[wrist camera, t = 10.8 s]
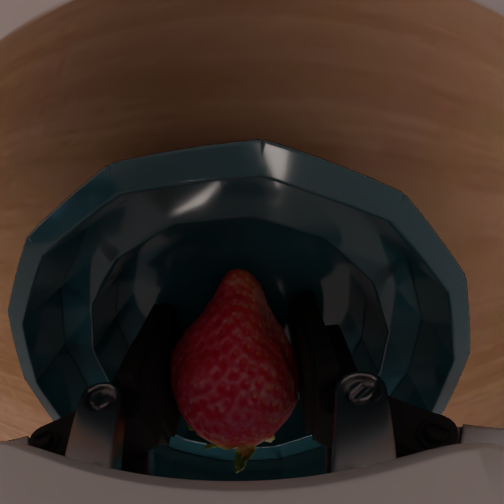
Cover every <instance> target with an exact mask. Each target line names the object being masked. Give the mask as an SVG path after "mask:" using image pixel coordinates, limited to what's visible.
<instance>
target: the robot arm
mask: <svg viewBox="0 0 504 504" xmlns="http://www.w3.org/2000/svg"><path fill="white" fill-rule="evenodd" d="M292 320H293V349H294V354H295V357H296V360H297V363H298V367H299V375H300V388H299V395H300V401H301V407H302V413H303V420H304V426H305V432H306V433H312V438H313V441H317V442H318V443H319V444H321V445H323V446H325V447H326V457H325V470H324V474H322V475H315V476H307V477H299V478H290V479H278V480H262V481H203V480H187V479H176V478H166V477H158V476H155V472H154V448H155V447H157V446H158V444H159V445H169V443H170V438H171V437H175V435H176V431H177V426H178V422H179V417H180V411H179V408H178V405H177V403H176V400H175V398H174V395H173V392H172V387H171V382H170V376H171V373H170V363H171V353H172V352H173V350H174V348H175V346H176V344H177V343H178V342H179V340H180V339H181V337H182V336H183V335H182V331H181V327H180V323H179V320H178V316H177V312H176V309H175V307H171V306H170V304H169V303H165V304H154V305H153V307H152V309H151V310H150V312H149V314H148V316H147V318H146V320H145V322H144V323H143V325H142V327H141V329H140V331H139V333H138V335H137V337H136V338H135V339H134V340H133V342H132V343H131V345H130V347H129V349H128V351H127V353H126V355H125V357H124V359H123V361H122V363H121V365H120V367H119V369H118V371H117V373H116V375H115V377H114V379H113V381H112V383H110V382H100V383H96V384H93V385H91V386H90V387H88V388H87V389H86V390H85V391H84V392H83V393H82V395H81V397H80V400H79V403H78V406H77V410H76V411H74V412H72V413H70V414H68V415H66V416H64V417H62V418H59V419H57V420H55V421H53V422H51V423H49V424H47V425H44V426H42V427H40V428H39V429H37V430H36V431H35V432H34V433H33V434H32V435H31V437H30V438H29V437H28V436H26V437H21V438H17V439H13V440H9V441H0V504H504V428H493V427H483V426H474V425H466V424H463V426H462V427H456V425H455V423H454V422H453V421H452V420H451V419H449V418H447V417H445V416H443V415H440V414H437V413H434V412H431V411H428V410H425V409H422V408H420V407H417V406H414V405H411V404H409V403H406V402H403V401H401V400H398V399H396V398H393V397H390V396H388V393H387V387H386V385H385V382H384V381H383V380H382V379H381V378H380V377H379V376H377V375H375V374H373V373H370V372H366V371H358V369H357V367H356V365H355V362H354V360H353V357H352V355H351V352H350V350H349V347H348V345H347V343H346V340H345V338H344V335H343V333H342V331H341V328H340V326H339V325H338V324H335V325H327V326H325V324H324V321H323V318H322V315H321V313H320V310H319V307H318V304H317V302H316V299H315V296H314V294H313V292H305V293H297V297H295V298H292Z"/></svg>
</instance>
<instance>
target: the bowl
mask: <svg viewBox="0 0 504 504" xmlns="http://www.w3.org/2000/svg"><path fill="white" fill-rule="evenodd" d="M238 268H239V269H243V270H246V271H249V272H250V273H251V274H252V275H253V276H254V277H255V278H256V279H257V280H258V282H259V283H260V284H261V288H262V289H263V291H264V294H265V297H266V299H267V303H268V306H269V307H270V309H271V310H272V312H273V314H274V316H275V318H276V319H277V321H278V323H279V324H280V325H281V326H282V328H283V330H284V332H285V334H286V336H287V337H288V340H289V342H290V344H291V345H292V346H293V320H292V298H295V297H297V293H305V292H313V294H314V296H315V299H316V302H317V304H318V307H319V310H320V313H321V315H322V318H323V321H324V324H325V326H327V325H335V324H338V325H339V326H340V328H341V331H342V333H343V335H344V338H345V340H346V343H347V345H348V347H349V350H350V352H351V355H352V357H353V360H354V362H355V365H356V367H357V369H358V371H366V372H370V373H373V374H375V375H377V376H379V377H380V378H381V379H382V380H383V381H384V382H385V385H386V387H387V393H388V396H390V397H393V398H396V399H398V400H401V401H403V402H406V403H409V404H411V405H414V406H417V407H420V408H422V409H425V410H428V411H431V412H434V413H437V414H440V415H441V414H442V412H443V411H444V410H445V408H446V406H447V404H448V402H449V400H450V398H451V396H452V394H453V391H454V389H455V387H456V385H457V383H458V381H459V378H460V376H461V374H462V371H463V369H464V366H465V364H466V361H467V359H468V356H469V354H470V318H469V302H468V290H467V281H466V277H465V274H464V272H463V270H462V269H461V267H460V266H459V264H458V263H457V261H456V260H455V259H454V257H453V256H452V254H451V253H450V251H449V250H448V248H447V247H446V246H445V244H444V243H443V241H442V240H441V239H440V237H439V236H438V235H437V233H436V232H435V231H434V229H433V228H432V227H431V225H430V224H429V223H428V221H427V220H426V219H425V218H424V216H423V215H422V214H421V212H420V211H419V210H418V209H417V208H416V206H415V205H414V204H413V203H412V201H411V200H410V199H409V198H408V197H407V195H405V194H403V192H402V191H400V190H397V189H395V188H393V187H391V186H389V185H386V184H384V183H382V182H379V181H377V180H375V179H372V178H370V177H368V176H365V175H363V174H360V173H358V172H355V171H353V170H350V169H348V168H345V167H343V166H340V165H338V164H335V163H332V162H330V161H327V160H324V159H322V158H319V157H316V156H313V155H311V154H308V153H305V152H302V151H299V150H296V149H293V148H290V147H287V146H284V145H281V144H278V143H275V142H271V141H268V140H263V141H262V140H259V139H256V140H246V141H236V142H227V143H219V144H211V145H204V146H197V147H190V148H184V149H178V150H172V151H166V152H161V153H155V154H150V155H145V156H140V157H135V158H130V159H125V160H121V161H116V162H113V163H111V164H110V165H106V166H105V167H104V168H102V169H101V170H100V171H99V172H97V173H96V174H95V175H94V176H92V177H91V178H90V179H89V180H88V181H86V182H85V183H84V184H83V185H81V186H80V187H79V188H78V189H77V190H76V191H74V192H73V193H72V194H71V195H70V196H69V197H68V198H66V199H65V200H64V201H63V202H62V203H61V204H60V205H59V206H58V207H56V208H55V209H54V210H53V211H52V212H51V213H50V214H49V215H48V216H47V217H46V218H45V219H44V220H43V221H42V222H41V223H40V224H39V225H38V226H37V227H36V228H35V229H34V230H33V231H32V232H31V233H30V234H29V236H27V238H26V241H25V244H24V247H23V250H22V254H21V257H20V261H19V264H18V268H17V272H16V276H15V280H14V284H13V288H12V292H11V297H10V302H9V307H8V316H9V321H10V326H11V331H12V335H13V340H14V344H15V348H16V352H17V356H18V360H19V363H20V367H21V370H22V373H23V376H24V378H25V380H26V381H27V383H28V385H29V386H30V388H31V389H32V391H33V392H34V394H35V395H36V397H37V398H38V400H39V401H40V403H41V404H42V406H43V407H44V408H45V410H46V411H47V413H48V414H49V415H50V417H51V418H52V419H53V421H55V420H57V419H59V418H62V417H64V416H66V415H68V414H70V413H72V412H74V411H76V410H77V406H78V403H79V400H80V397H81V395H82V393H83V392H84V391H85V390H86V389H87V388H88V387H90V386H91V385H93V384H96V383H100V382H110V383H112V381H113V379H114V377H115V375H116V373H117V371H118V369H119V367H120V365H121V363H122V361H123V359H124V357H125V355H126V353H127V351H128V349H129V347H130V345H131V343H132V342H133V340H134V339H135V338H136V337H137V335H138V333H139V331H140V329H141V327H142V325H143V323H144V322H145V320H146V318H147V316H148V314H149V312H150V310H151V309H152V307H153V305H154V304H165V303H169V304H170V306H171V307H175V309H176V312H177V316H178V320H179V323H180V327H181V331H182V335H183V334H184V332H185V330H186V329H187V328H188V327H189V326H191V324H192V323H193V322H194V321H195V320H196V319H197V318H198V317H199V316H200V314H201V313H202V312H203V311H204V310H205V308H206V306H207V304H208V303H209V301H211V300H212V299H213V297H214V295H215V293H216V290H217V288H218V286H219V285H220V283H221V281H222V279H223V277H224V276H225V275H226V274H227V273H228V272H229V271H231V270H234V269H238ZM195 432H196V431H194V430H189V429H188V423H187V422H186V420H185V418H184V417H183V416H182V414H181V413H180V417H179V422H178V426H177V431H176V435H175V437H171V438H170V443H169V445H159V444H158V446H157V447H155V448H154V472H155V476H158V477H166V478H176V479H187V480H203V481H262V480H278V479H290V478H299V477H307V476H315V475H322V474H324V470H325V457H326V447H325V446H323V445H321V444H319V443H318V442H317V441H313V438H312V433H306V432H305V426H304V420H303V413H302V407H301V401H300V395H299V392H298V400H297V403H296V406H295V408H294V410H293V411H292V413H291V415H290V416H289V418H288V419H287V420H286V421H285V422H284V424H283V425H282V426H281V427H280V428H279V429H278V430H277V432H276V433H275V434H274V436H275V440H273V441H272V442H271V443H270V442H266V441H264V442H262V443H260V444H258V445H257V446H256V448H255V453H254V454H253V455H252V456H251V458H250V459H249V460H247V462H246V466H245V468H244V469H243V470H242V471H240V472H238V473H235V471H236V468H235V454H234V452H235V449H236V448H234V449H231V450H224V449H222V448H219V447H216V448H209V449H204V446H205V445H207V444H210V443H211V442H209V441H207V440H205V439H203V438H202V437H200V436H199V435H196V434H195Z"/></svg>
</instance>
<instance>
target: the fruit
mask: <svg viewBox="0 0 504 504" xmlns="http://www.w3.org/2000/svg"><path fill="white" fill-rule="evenodd" d="M170 373H171V376H170V382H171V387H172V392H173V395H174V398H175V400H176V403H177V405H178V408H179V411H180V413H181V414H182V416H183V417H184V418H185V420H186V422H187V423H188V429H189V430H194V431H196V432H195V434H196V435H199V436H200V437H202V438H203V439H205V440H207V441H209V442H211V443H210V444H207V445H205V446H204V449H209V448H216V447H219V448H222V449H224V450H231V449H234V448H236V449H235V452H234V454H235V468H236V471H235V473H238V472H240V471H242V470H243V469H244V468H245V466H246V462H247V460H249V459H250V458H251V456H252V455H253V454H254V453H255V448H256V446H257V445H258V444H260V443H262V442H264V441H266V442H270V443H271V442H272V441H273V440H275V436H274V434H275V433H276V432H277V430H278V429H279V428H280V427H281V426H282V425H283V424H284V422H285V421H286V420H287V419H288V418H289V416H290V415H291V413H292V411H293V410H294V408H295V406H296V403H297V400H298V392H299V388H300V375H299V367H298V363H297V360H296V357H295V354H294V349H293V346H292V345H291V344H290V342H289V340H288V337H287V336H286V334H285V332H284V330H283V328H282V326H281V325H280V324H279V323H278V321H277V319H276V318H275V316H274V314H273V312H272V310H271V309H270V307H269V306H268V303H267V299H266V297H265V294H264V291H263V289H262V288H261V284H260V283H259V282H258V280H257V279H256V278H255V277H254V276H253V275H252V274H251V273H250V272H249V271H246V270H243V269H239V268H238V269H234V270H231V271H229V272H228V273H227V274H226V275H225V276H224V277H223V279H222V281H221V283H220V285H219V286H218V288H217V290H216V293H215V295H214V297H213V299H212V300H211V301H209V303H208V304H207V306H206V308H205V310H204V311H203V312H202V313H201V314H200V316H199V317H198V318H197V319H196V320H195V321H194V322H193V323H192V324H191V326H189V327H188V328H187V329H186V330H185V332H184V334H183V336H182V337H181V339H180V340H179V342H178V343H177V344H176V346H175V348H174V350H173V352H172V353H171V363H170Z"/></svg>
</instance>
